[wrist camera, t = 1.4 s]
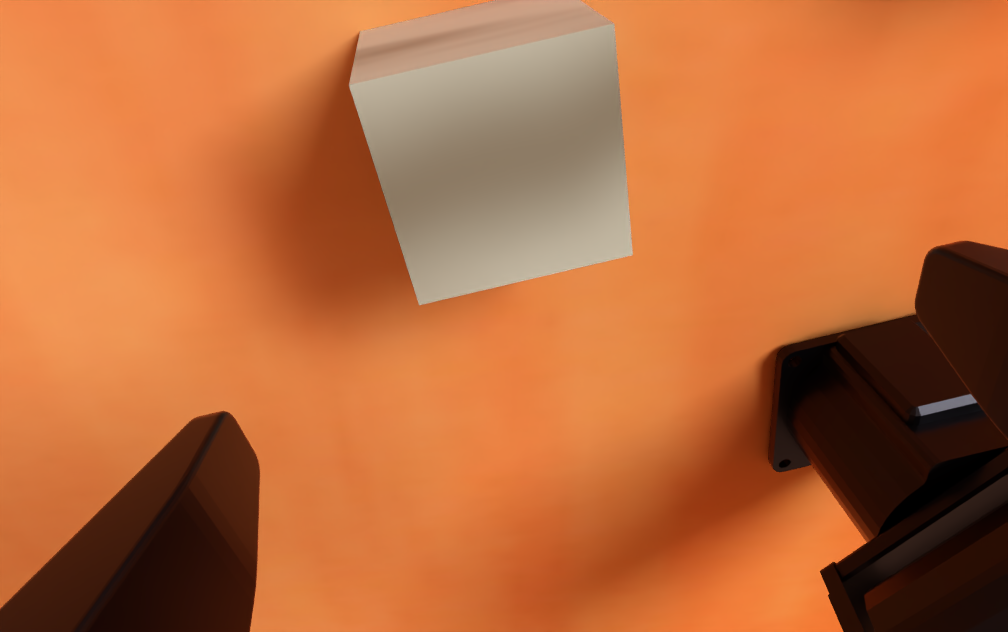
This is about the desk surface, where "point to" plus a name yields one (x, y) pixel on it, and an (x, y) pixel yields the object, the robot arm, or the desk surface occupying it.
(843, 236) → the desk surface
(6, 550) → the desk surface
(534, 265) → the cube block
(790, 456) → the robot arm
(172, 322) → the desk surface
